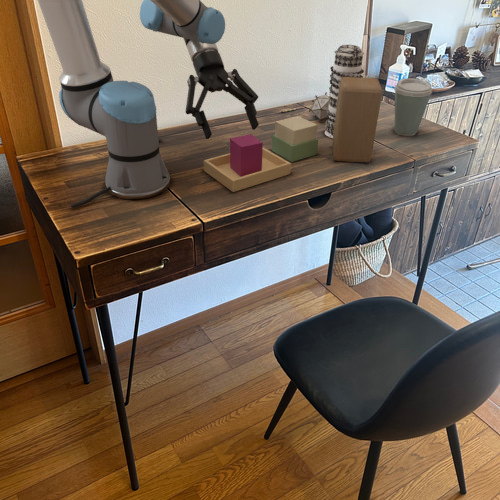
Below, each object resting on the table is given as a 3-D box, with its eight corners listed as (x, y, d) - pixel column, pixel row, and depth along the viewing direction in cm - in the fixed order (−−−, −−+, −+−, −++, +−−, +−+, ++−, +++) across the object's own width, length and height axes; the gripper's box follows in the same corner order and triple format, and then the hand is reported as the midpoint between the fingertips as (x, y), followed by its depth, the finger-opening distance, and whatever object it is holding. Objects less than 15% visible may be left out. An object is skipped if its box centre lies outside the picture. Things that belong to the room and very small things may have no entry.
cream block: (293, 145, 128) (294, 130, 126) (274, 135, 133) (275, 121, 131) (315, 139, 132) (317, 124, 130) (297, 129, 137) (298, 115, 135)
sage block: (291, 162, 130) (292, 146, 128) (271, 150, 136) (272, 135, 134) (316, 154, 135) (318, 139, 132) (296, 143, 140) (297, 128, 138)
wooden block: (366, 149, 138) (378, 77, 127) (370, 164, 130) (383, 89, 118) (331, 147, 139) (340, 75, 127) (332, 162, 131) (342, 87, 119)
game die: (319, 128, 160) (325, 98, 161) (339, 126, 154) (345, 95, 154) (301, 119, 155) (307, 88, 155) (321, 116, 148) (327, 84, 148)
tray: (233, 192, 116) (233, 180, 114) (204, 170, 125) (203, 160, 123) (290, 174, 124) (291, 163, 123) (259, 155, 133) (259, 145, 132)
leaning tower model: (347, 142, 142) (359, 52, 127) (318, 135, 146) (327, 47, 131) (358, 132, 148) (372, 45, 134) (331, 126, 152) (341, 41, 138)
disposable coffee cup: (429, 137, 146) (441, 87, 137) (396, 140, 144) (407, 89, 135) (411, 124, 154) (421, 76, 145) (380, 127, 152) (389, 78, 143)
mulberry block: (240, 177, 121) (241, 147, 116) (230, 167, 125) (229, 138, 120) (261, 172, 123) (262, 142, 119) (250, 163, 127) (251, 134, 123)
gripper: (163, 54, 118) (192, 134, 117) (252, 44, 129) (279, 117, 127) (157, 71, 125) (184, 146, 123) (242, 60, 136) (268, 129, 134)
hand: (232, 132), depth 125 cm, fingers open, 13 cm apart
